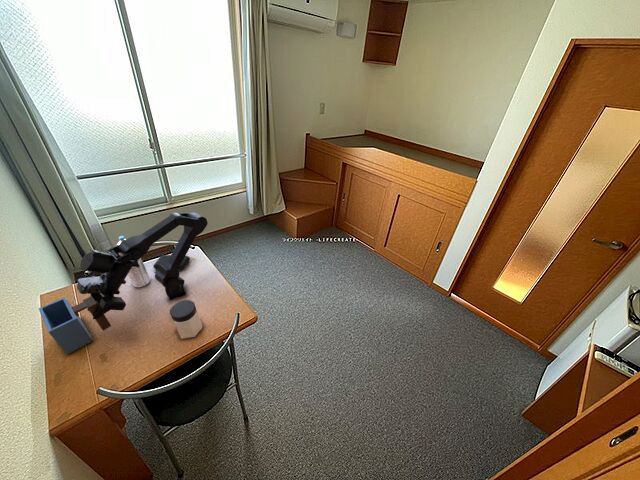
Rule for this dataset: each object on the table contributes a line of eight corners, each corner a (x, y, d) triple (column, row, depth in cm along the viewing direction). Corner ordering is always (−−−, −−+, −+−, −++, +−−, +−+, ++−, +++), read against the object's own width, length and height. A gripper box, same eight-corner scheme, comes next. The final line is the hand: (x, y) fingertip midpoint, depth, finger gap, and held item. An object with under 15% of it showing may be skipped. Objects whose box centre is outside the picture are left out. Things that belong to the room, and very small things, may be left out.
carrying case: (151, 272, 121) (183, 273, 122) (149, 267, 119) (181, 268, 120) (162, 258, 129) (191, 259, 130) (160, 253, 128) (190, 254, 129)
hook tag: (106, 318, 93) (91, 295, 86) (111, 326, 91) (96, 303, 84) (87, 328, 89) (70, 305, 83) (91, 336, 87) (74, 314, 80)
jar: (174, 340, 93) (165, 319, 86) (179, 322, 99) (171, 301, 92) (201, 336, 94) (194, 315, 88) (204, 318, 101) (197, 298, 94)
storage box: (81, 319, 97) (65, 296, 90) (93, 340, 90) (76, 318, 84) (57, 330, 93) (38, 308, 86) (67, 354, 86) (48, 332, 79)
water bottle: (146, 275, 119) (126, 230, 105) (153, 282, 116) (134, 236, 102) (130, 283, 114) (107, 237, 100) (137, 290, 111) (115, 244, 97)
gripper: (79, 257, 85) (53, 299, 84) (99, 284, 76) (70, 330, 75) (115, 264, 95) (93, 301, 94) (137, 288, 86) (112, 330, 85)
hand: (91, 314), depth 87 cm, fingers closed on hook tag, 5 cm apart
